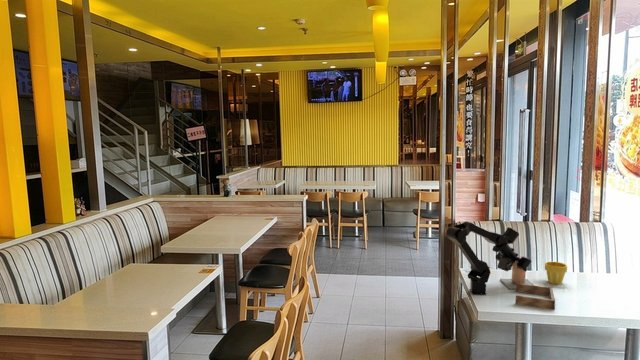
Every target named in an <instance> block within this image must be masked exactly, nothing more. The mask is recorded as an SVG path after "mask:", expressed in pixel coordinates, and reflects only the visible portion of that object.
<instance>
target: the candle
mask: <svg viewBox="0 0 640 360" xmlns="http://www.w3.org/2000/svg"><path fill="white" fill-rule="evenodd" d="M517 263H518V262H516V261H515V263H513V265H512V268H511V279H512V280H511V281H512V282H514V283H520V284H524V283H525V279H526V272H527V271H526V272H525V271H524V270H523V269H520V268H517V267H518V266H517Z"/></svg>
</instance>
